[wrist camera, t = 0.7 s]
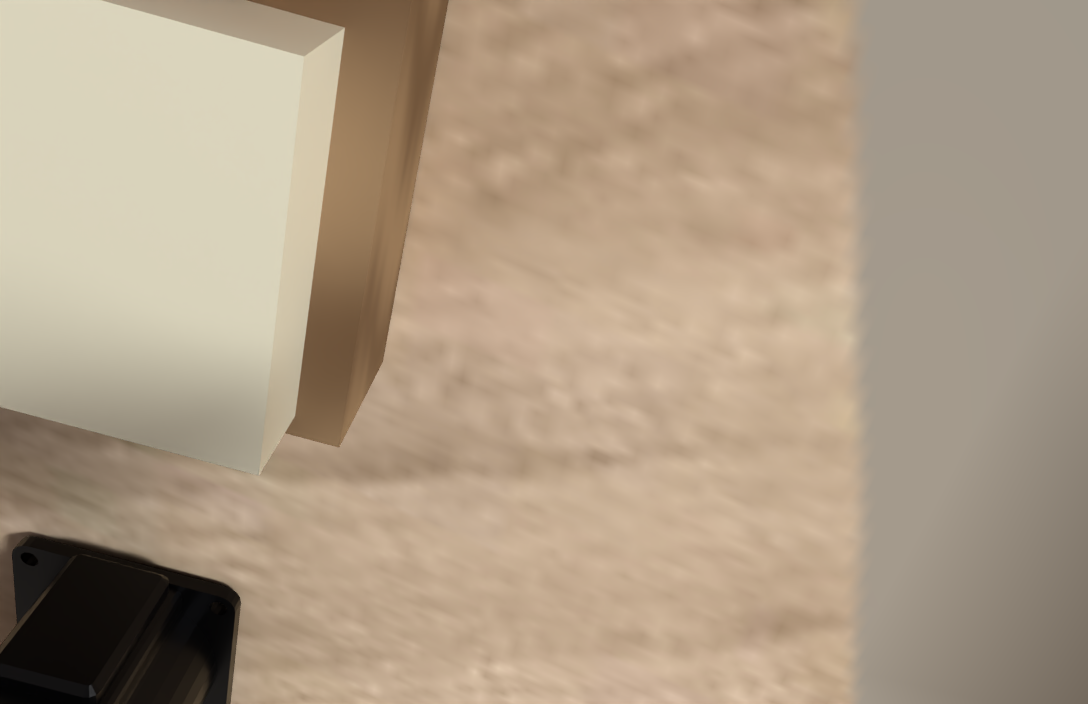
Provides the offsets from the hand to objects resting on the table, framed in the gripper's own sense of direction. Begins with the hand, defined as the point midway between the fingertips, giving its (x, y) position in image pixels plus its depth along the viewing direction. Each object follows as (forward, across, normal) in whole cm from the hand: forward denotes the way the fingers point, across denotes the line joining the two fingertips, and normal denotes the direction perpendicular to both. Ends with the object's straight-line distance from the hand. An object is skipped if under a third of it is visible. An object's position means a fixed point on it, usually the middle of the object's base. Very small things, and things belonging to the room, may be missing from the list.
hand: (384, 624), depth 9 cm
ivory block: (+10, +7, +1) cm, 12 cm away
